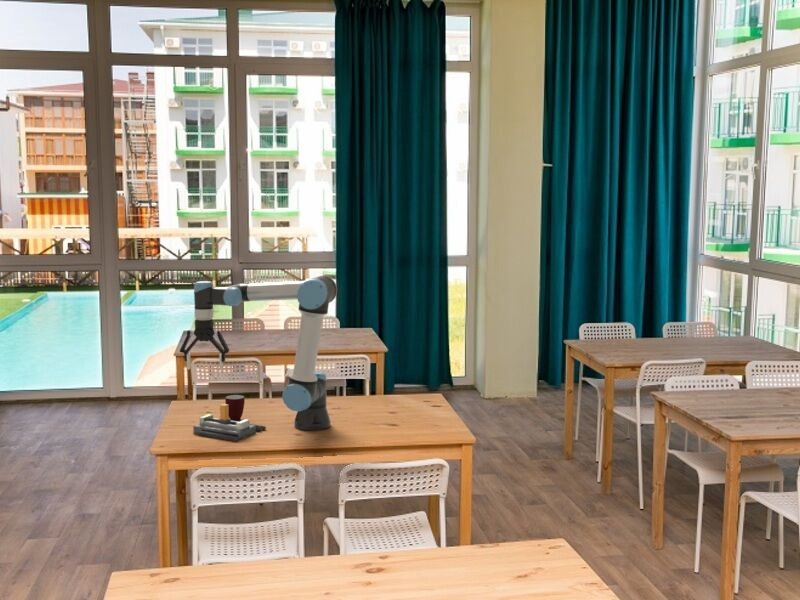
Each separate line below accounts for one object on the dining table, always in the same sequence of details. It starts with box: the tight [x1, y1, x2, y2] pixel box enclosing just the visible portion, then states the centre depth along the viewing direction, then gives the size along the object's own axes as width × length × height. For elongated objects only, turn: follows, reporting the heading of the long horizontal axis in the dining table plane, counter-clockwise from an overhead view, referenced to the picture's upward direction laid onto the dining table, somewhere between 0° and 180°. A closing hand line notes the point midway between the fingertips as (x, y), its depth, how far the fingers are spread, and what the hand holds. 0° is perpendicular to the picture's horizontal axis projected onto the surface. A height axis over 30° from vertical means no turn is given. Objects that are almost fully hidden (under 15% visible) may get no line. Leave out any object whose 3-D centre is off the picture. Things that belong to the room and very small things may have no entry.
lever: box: [217, 403, 232, 425], centre depth 356 cm, size 4×3×8 cm
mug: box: [224, 394, 245, 422], centre depth 377 cm, size 10×8×10 cm
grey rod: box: [256, 426, 263, 432], centre depth 365 cm, size 24×2×2 cm, turn 65°
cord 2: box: [250, 423, 267, 431], centre depth 367 cm, size 25×2×2 cm, turn 68°
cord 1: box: [197, 431, 239, 442], centre depth 350 cm, size 20×2×2 cm, turn 63°
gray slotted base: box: [192, 413, 257, 441], centre depth 357 cm, size 22×12×6 cm, turn 65°
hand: (205, 369), depth 365 cm, fingers open, 13 cm apart
